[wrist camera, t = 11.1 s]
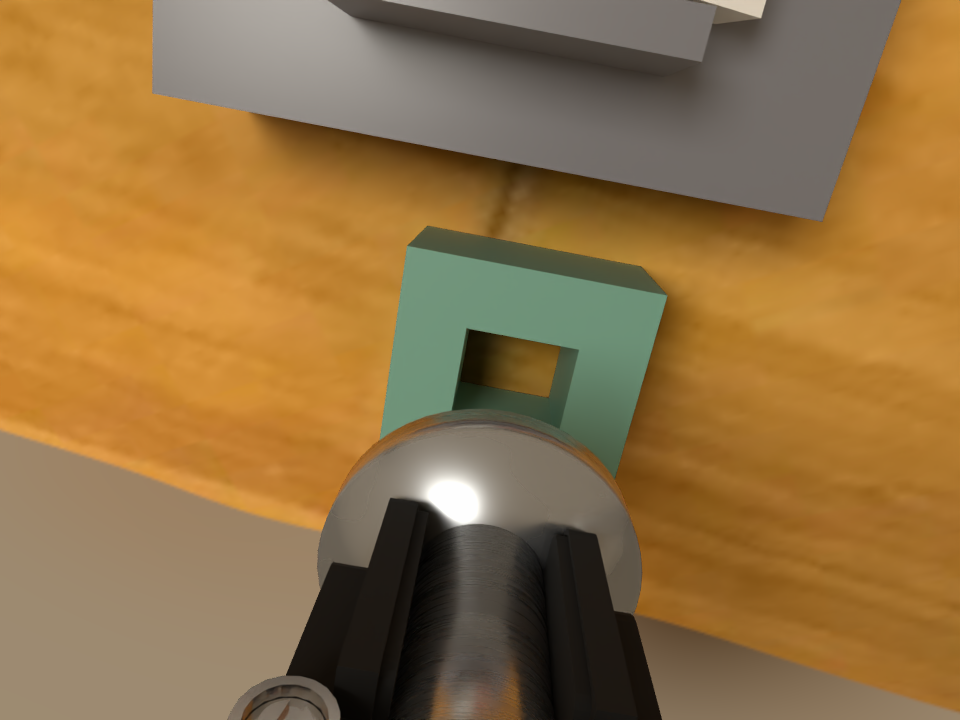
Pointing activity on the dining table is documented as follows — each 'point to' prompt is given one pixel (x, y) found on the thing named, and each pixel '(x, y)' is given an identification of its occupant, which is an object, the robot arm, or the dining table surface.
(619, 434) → the stylus holder
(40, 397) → the dining table surface
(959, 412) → the dining table surface
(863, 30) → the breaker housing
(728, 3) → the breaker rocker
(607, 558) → the metal knob
